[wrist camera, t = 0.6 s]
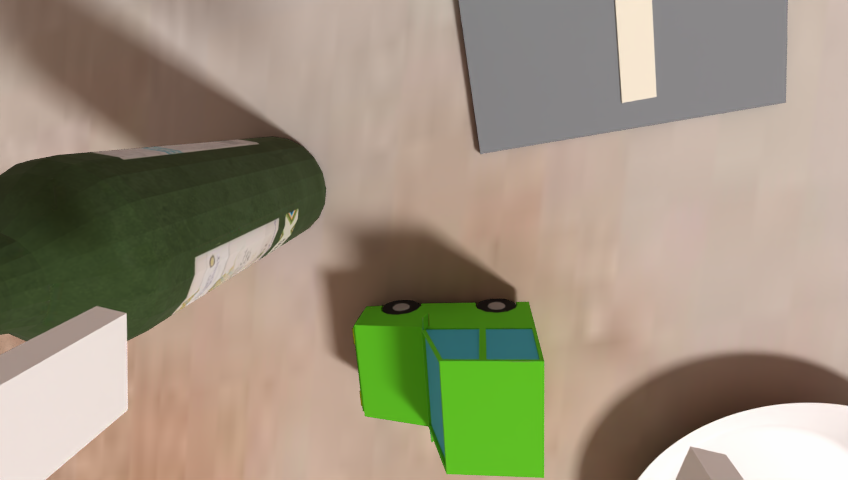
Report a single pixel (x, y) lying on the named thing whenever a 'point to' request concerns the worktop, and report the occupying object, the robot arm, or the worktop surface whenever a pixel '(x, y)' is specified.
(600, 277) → the worktop surface
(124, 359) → the robot arm
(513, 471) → the toy car
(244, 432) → the worktop surface
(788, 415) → the white plate
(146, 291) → the wine bottle
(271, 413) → the worktop surface
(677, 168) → the worktop surface
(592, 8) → the mat
